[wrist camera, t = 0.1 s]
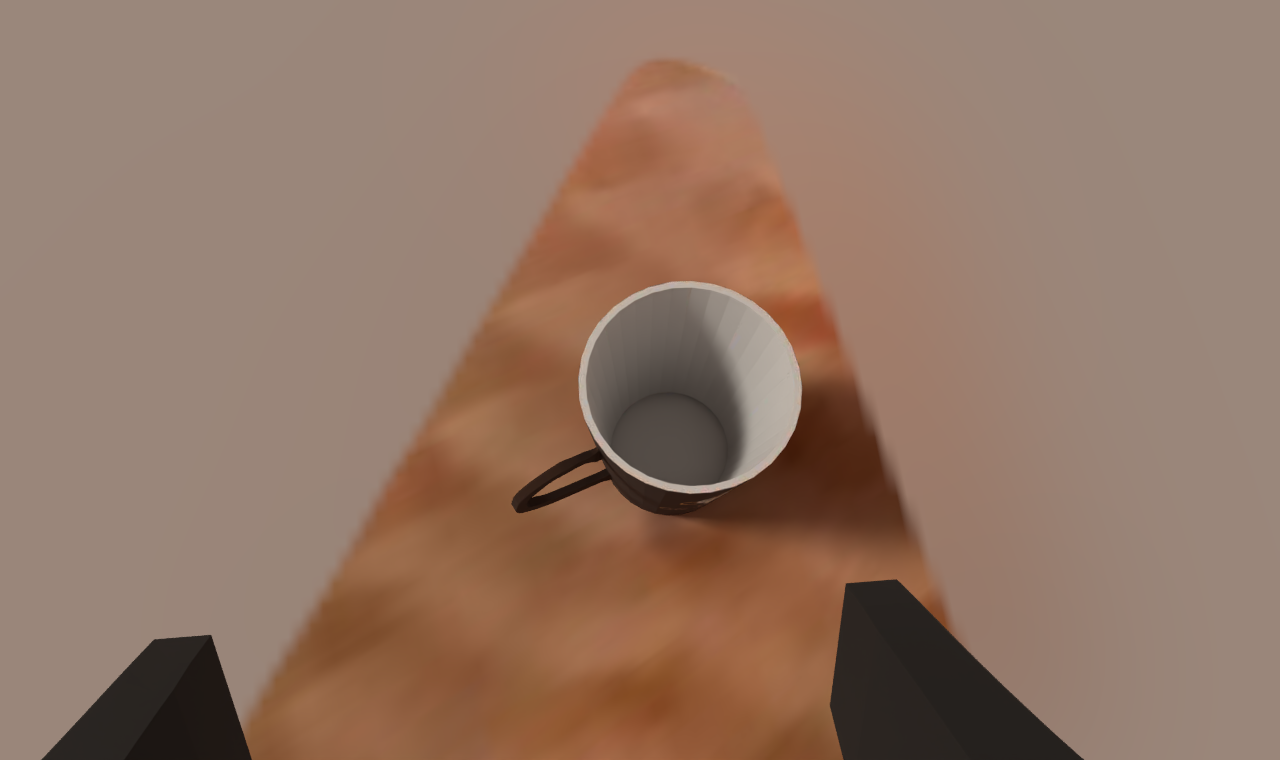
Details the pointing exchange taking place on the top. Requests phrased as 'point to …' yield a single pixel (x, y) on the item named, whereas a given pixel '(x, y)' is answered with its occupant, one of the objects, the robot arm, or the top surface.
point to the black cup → (681, 398)
